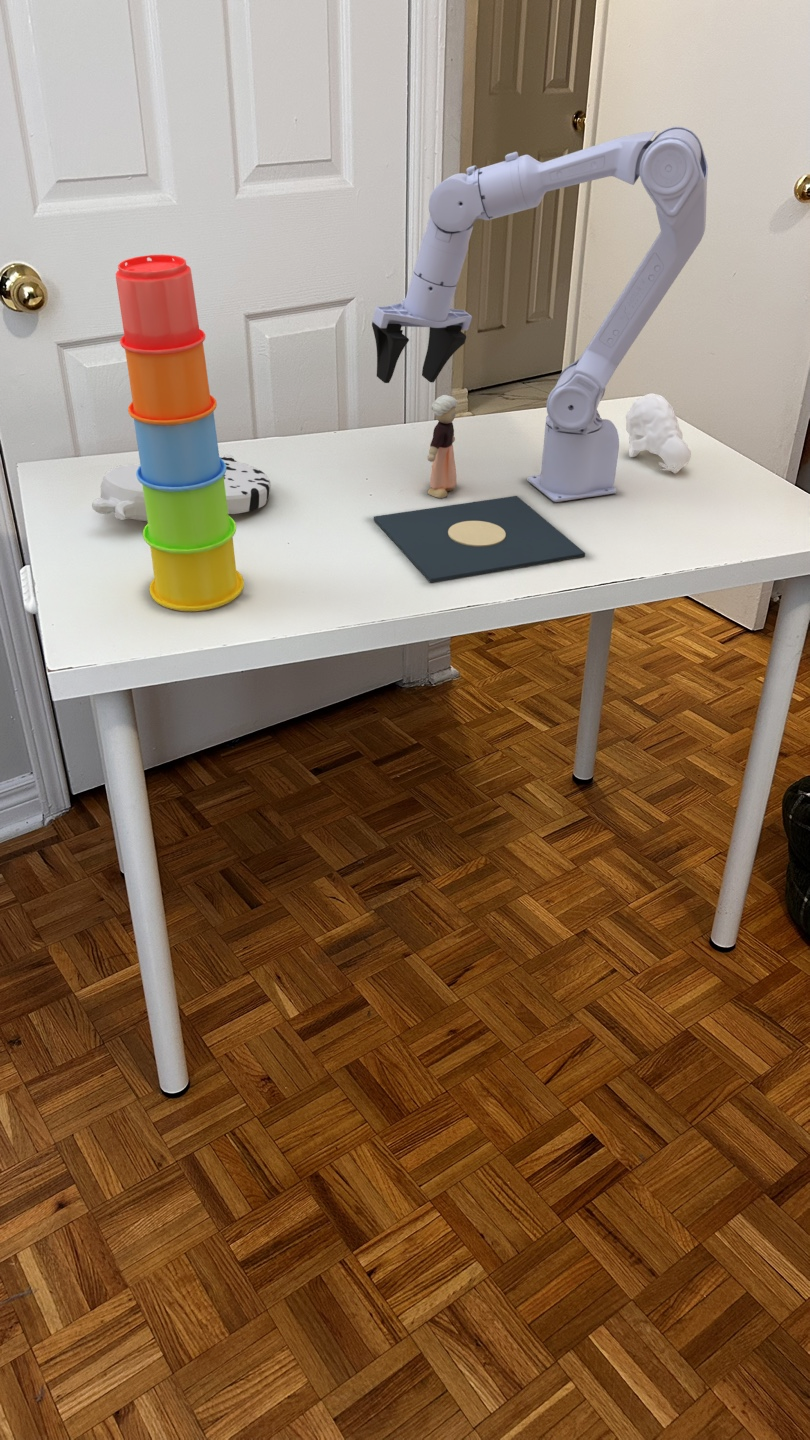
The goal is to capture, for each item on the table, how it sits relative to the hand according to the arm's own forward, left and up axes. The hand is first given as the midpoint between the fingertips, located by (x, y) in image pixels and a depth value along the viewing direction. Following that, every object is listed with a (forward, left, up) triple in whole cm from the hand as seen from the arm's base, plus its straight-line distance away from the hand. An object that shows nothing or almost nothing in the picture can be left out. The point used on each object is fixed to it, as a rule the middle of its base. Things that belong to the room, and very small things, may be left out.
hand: (405, 379), depth 148 cm
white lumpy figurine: (-35, +10, -12) cm, 38 cm away
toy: (+31, +3, -12) cm, 34 cm away
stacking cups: (+35, +26, -12) cm, 45 cm away
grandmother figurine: (-2, +9, -12) cm, 15 cm away
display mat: (0, +24, -12) cm, 27 cm away
